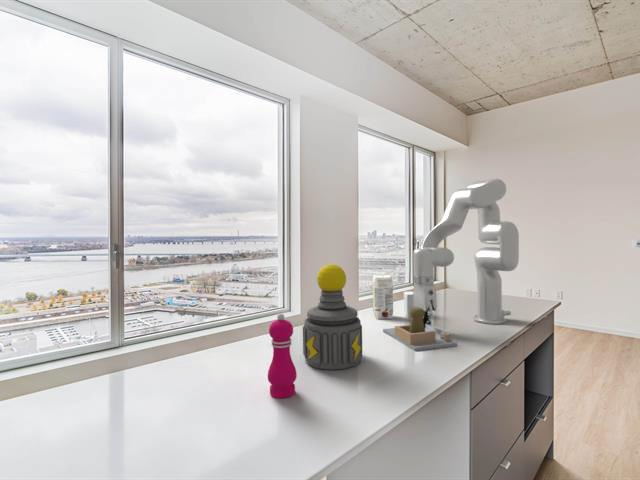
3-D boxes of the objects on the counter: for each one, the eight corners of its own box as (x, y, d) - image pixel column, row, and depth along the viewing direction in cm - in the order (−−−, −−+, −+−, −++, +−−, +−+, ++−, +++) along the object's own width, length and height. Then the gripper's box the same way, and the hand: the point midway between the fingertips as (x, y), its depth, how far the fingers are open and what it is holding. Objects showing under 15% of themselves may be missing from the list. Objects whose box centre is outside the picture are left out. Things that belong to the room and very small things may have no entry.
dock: (419, 327, 148) (419, 316, 148) (456, 345, 125) (456, 332, 125) (383, 331, 144) (382, 320, 143) (414, 351, 120) (414, 337, 120)
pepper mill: (285, 402, 86) (283, 318, 86) (262, 395, 90) (260, 315, 90) (302, 390, 93) (300, 312, 92) (280, 384, 96) (278, 309, 96)
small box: (419, 317, 165) (419, 294, 165) (407, 317, 165) (407, 294, 165) (415, 313, 173) (415, 291, 173) (403, 313, 173) (403, 291, 173)
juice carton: (394, 319, 163) (393, 276, 162) (374, 319, 163) (374, 277, 162) (391, 315, 170) (390, 274, 170) (372, 315, 170) (372, 275, 170)
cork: (427, 336, 132) (426, 306, 132) (424, 341, 127) (424, 310, 126) (410, 335, 135) (409, 305, 134) (406, 339, 129) (406, 309, 129)
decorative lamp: (336, 377, 101) (334, 268, 100) (290, 361, 113) (288, 265, 112) (375, 358, 114) (373, 263, 114) (330, 346, 127) (328, 260, 126)
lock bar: (428, 330, 140) (428, 319, 140) (444, 338, 130) (444, 326, 130) (425, 331, 139) (424, 320, 139) (440, 338, 130) (440, 326, 130)
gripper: (443, 282, 135) (443, 331, 135) (421, 277, 149) (422, 322, 150) (425, 283, 133) (425, 333, 133) (405, 278, 147) (405, 323, 148)
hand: (424, 327), depth 141 cm, fingers closed
